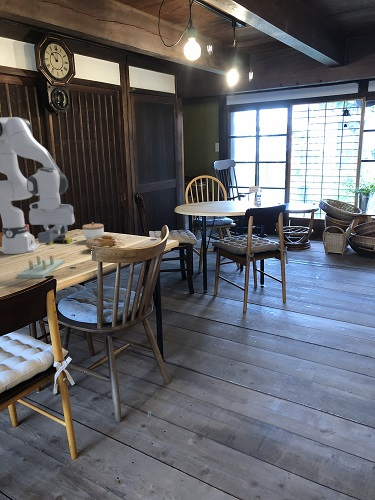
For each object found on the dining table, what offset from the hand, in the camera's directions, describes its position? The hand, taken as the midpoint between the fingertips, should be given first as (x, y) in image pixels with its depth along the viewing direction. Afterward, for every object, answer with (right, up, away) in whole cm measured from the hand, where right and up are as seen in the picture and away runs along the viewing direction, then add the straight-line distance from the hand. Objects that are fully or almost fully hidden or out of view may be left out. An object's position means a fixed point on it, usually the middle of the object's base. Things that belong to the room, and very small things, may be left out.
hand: (53, 233), depth 186 cm
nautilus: (+17, -7, +37) cm, 41 cm away
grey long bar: (0, -2, 0) cm, 2 cm away
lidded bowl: (+5, -2, +60) cm, 60 cm away
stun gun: (-15, -2, +61) cm, 63 cm away
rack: (-6, -17, +2) cm, 18 cm away
